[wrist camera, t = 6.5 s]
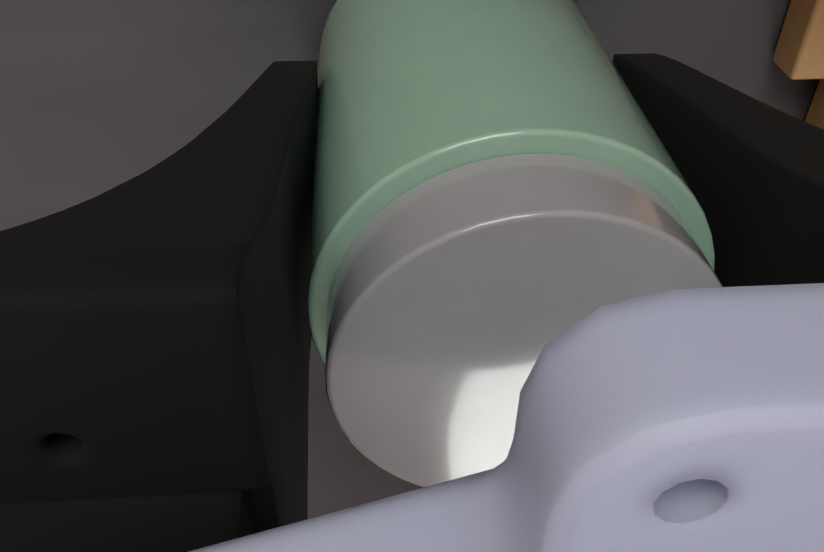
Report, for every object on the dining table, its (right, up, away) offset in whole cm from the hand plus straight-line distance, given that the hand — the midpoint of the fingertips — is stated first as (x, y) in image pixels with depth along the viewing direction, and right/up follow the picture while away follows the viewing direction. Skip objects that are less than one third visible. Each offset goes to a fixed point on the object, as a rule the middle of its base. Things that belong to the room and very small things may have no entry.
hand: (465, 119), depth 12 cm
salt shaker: (0, +1, +1) cm, 2 cm away
